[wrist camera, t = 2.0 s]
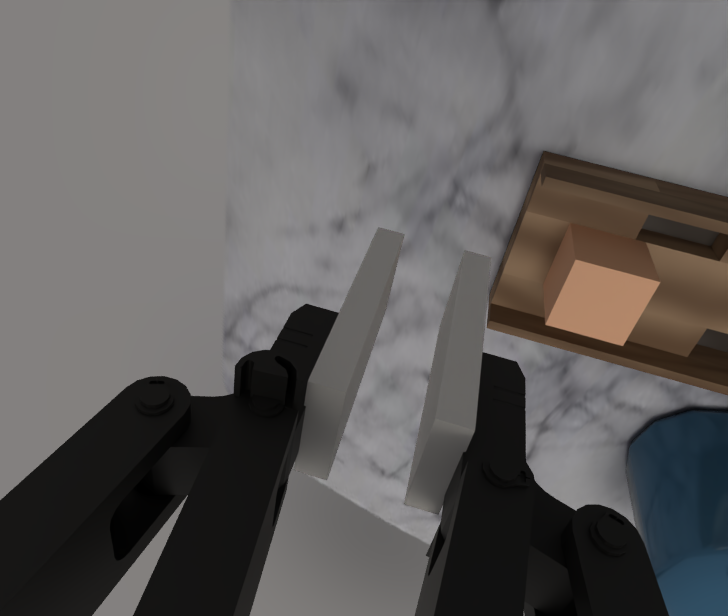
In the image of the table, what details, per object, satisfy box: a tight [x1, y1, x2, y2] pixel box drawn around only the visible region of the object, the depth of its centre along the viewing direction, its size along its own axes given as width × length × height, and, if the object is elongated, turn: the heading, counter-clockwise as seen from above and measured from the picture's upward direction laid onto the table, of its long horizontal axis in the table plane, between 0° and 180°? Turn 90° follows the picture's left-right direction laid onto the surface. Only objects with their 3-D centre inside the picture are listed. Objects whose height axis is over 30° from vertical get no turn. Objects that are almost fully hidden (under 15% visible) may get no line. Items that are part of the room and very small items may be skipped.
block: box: [543, 223, 660, 346], centre depth 41 cm, size 6×6×6 cm
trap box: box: [487, 151, 728, 395], centre depth 42 cm, size 13×30×6 cm, turn 80°
